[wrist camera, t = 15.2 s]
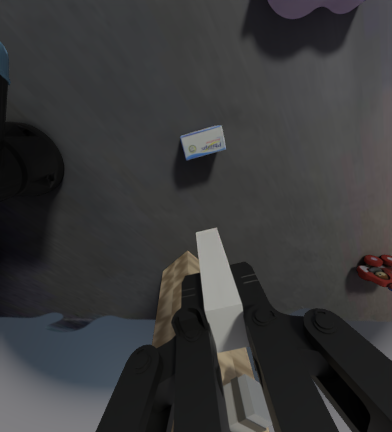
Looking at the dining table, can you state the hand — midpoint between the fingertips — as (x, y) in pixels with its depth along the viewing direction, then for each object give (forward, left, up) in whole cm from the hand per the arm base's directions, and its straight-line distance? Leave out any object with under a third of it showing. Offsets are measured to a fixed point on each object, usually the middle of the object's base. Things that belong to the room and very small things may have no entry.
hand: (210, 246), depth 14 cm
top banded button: (-1, -29, -5) cm, 29 cm away
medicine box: (+3, +5, -35) cm, 35 cm away
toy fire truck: (+47, -42, -35) cm, 72 cm away
